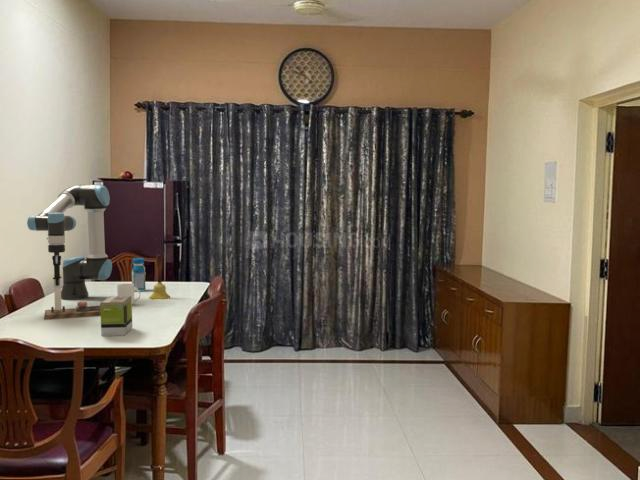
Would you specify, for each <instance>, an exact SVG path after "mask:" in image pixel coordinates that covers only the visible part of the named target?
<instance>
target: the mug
mask: <svg viewBox="0 0 640 480" xmlns="http://www.w3.org/2000/svg"><path fill="white" fill-rule="evenodd" d="M116 286H117V291H116V292H117V293H116V295H117V296H131V301H132V305H134V304H135V302H138V301H139V300H140V298H141V291H139V290H138V289H137V288H135V287H134V284H132V283H119V284H117V285H116ZM135 292H138V293H139V294H138V295H139V296H138V298H136V297H135Z"/></svg>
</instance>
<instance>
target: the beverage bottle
mask: <svg viewBox="0 0 640 480" xmlns="http://www.w3.org/2000/svg"><path fill="white" fill-rule="evenodd" d="M144 264H145V258H143V257H135V258H134V257H133V258H132V268H131V284H134V287H135V288H137V289H138V290H139V291H140V292H145V291H146V289H147V288H146V275H147V274H146V273H147V272H146V267H145V265H144Z"/></svg>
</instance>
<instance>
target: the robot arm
mask: <svg viewBox="0 0 640 480" xmlns="http://www.w3.org/2000/svg"><path fill="white" fill-rule="evenodd" d="M110 201H111V197H110V193H109V190H108V188H107V187H106V186H105V185H101V184H75V185H73V186H69V187H68V188H65V189H64V190H62V191H61V192H60V193H59V194H57V198H55V200H54V201H52V203H50V204H49V205H48V206H47V207H46V208H44V210H42V211H41V212H40V213H39V214H38V215H29V216H28V218H27V222H26V224H27V228H28V230H29V231H36V232H41V231H45V232H47V236H48V237H46V240H48V241H47V242H48V243H47V244H48V245H47V249H48V253H49V254H50V253H51V254H52V253H53V255H52V256H51V258H52V265H53V271H54V273H53V277H52V280H53V281H54V282H53V283H54V284H53V286H54V287H61V279H62V282H63V283H62V287H61V300H83V299H87V298H89V292H88V288H87V285H86V280H93V281H94V280H97V281H98V280H99V281H103V280H107V279H108V278H109V277H110V276H111V273H112V270H113V263H112V260H111V259H109V256H108V255H107V254H106V247H105V246H106V245H105V243H106V241H105V218H104V212H105V211H106V209H107V206H109V205H110ZM75 206H83V208H84V210H85V211H86V212H87V235H88V236H87V238H88V241H87V242H88V255H86V256H76V257H69V258H65V259H63V261H62V262H61V260H62V255H60V253H65V252H66V234H65V232H70V231H72V230H74V229H75V228H76V226H77V221H76V219H75V217H74V216H72V215H65V214H64V213H65V212H66V211H67V210H68V209H71V208H73V207H75ZM61 263H62V264H61ZM61 265H62V276H61V270H60V269H61V268H60V267H61ZM54 287H53V288H54Z"/></svg>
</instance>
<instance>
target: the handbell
mask: <svg viewBox="0 0 640 480" xmlns="http://www.w3.org/2000/svg"><path fill="white" fill-rule="evenodd" d="M156 256H157V257H156V263H155V264H156V269H157V283H156V284H155V285H154V286H153V292H152V294H151V295H150V296H149V297H148V300H149V299H150V300H154V299H161V300H168V298H169V299H171V298H170V297H171V295H169V294H168V293H167V289H166V287H167V286H166V285H165V284H163V282H162V269H163V257H162V255H161V254H157V255H156Z"/></svg>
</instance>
